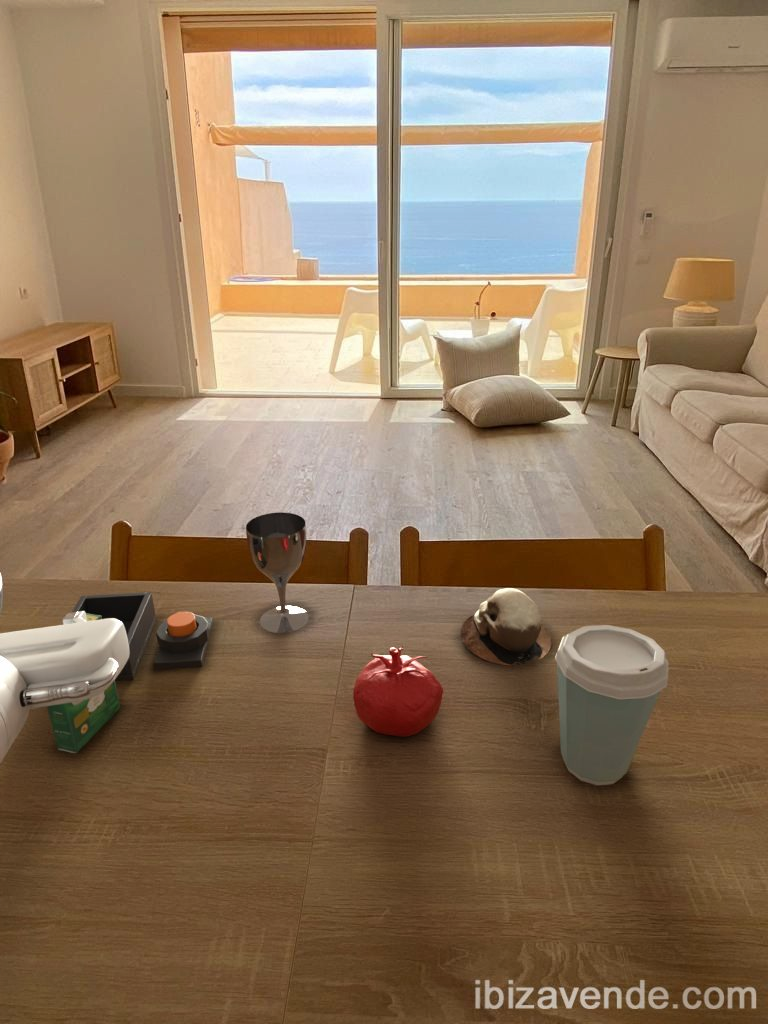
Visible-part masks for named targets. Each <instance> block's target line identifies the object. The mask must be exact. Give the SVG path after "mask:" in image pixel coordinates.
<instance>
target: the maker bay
mask: <svg viewBox="0 0 768 1024" xmlns="http://www.w3.org/2000/svg"><path fill="white" fill-rule="evenodd" d="M155 609H156V608H155V605H154V598H153V593H152V591H146V592H145V591H144V592H143V591H142V592H127V593H126V592H125V593H109V594H90V595H88V594H87V595H81V596H80V597H79V599H78V601H77V602H76V604H75V606H74V607H73V609H72V611H71V612H70V613H72V612H80V611H85V613H88V614H94V615H101V616H102V619H108V618H115V619H117V620H119V621H121V622H122V623H123V624H124V627H125V630H126V634H127V639H128V644H129V652H130V655H129V658H128V661H127V662H126V664H125V666H124V667H123V669H122V670H121V672H120V673H119V675H118V676H117V677H116V679H115V682H126V681H127V682H128V681H134V680H135V678H136V675H137V672H138V670H139V668H140V664H141V661H142V659H143V656H144V654H145V652H146V649H147V646H148V643H149V641H150V638H151V635H152V633H153V630H154V628H155V625H156V623H157V616H156V610H155Z"/></svg>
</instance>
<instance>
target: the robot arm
mask: <svg viewBox="0 0 768 1024" xmlns="http://www.w3.org/2000/svg"><path fill="white" fill-rule="evenodd" d="M3 590H4V589H3V578H2V574H1V573H0V616H1V614H2V609H3V598H4V597H3V596H4V595H3V594H4V592H3ZM71 612H72V611H71ZM71 612H67V613H66V614H65V616H64V617H63V618H62V624H58V625H52V626H51V625H49V626H44V627H37V628H29V629H22V630H15V631H8V632H2V633H1V632H0V764H1V763H2V762H3V760H4V758H5V757H6V755H7V754H8V752H9V750H10V749H11V747H12V746H13V744H14V742H15V741H16V739H17V737H18V736H19V734H20V732H21V731H22V729H23V728H24V726H25V724H26V722H27V720H28V716H29V713H30V709H31V710H32V709H38V708H43V707H47V706H51V705H58V704H65V703H71V702H78V701H82V700H86V699H90V698H93V697H95V696H97V695H99V694H101V693H102V692H103V691H105V690H106V689H107V688H108V687H109V686H110V685H111V684H112V683H113V681H114V680H115V679H116V677H117V676H118V675H119V673H120V672H121V670H122V669H123V667H124V666H125V664H126V662H127V661H128V658H129V655H130V652H129V644H128V639H127V634H126V630H125V627H124V624H123V623H122V622H121V621H119V620H117V619H115V618H108V619H101V620H94V621H87V617H86V613H85V611H80V612H72V613H71Z"/></svg>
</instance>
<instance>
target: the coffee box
mask: <svg viewBox="0 0 768 1024" xmlns="http://www.w3.org/2000/svg"><path fill="white" fill-rule="evenodd" d="M86 617H87V621H94V620H101V619H102V616H101V615H94V614H88V613H86ZM46 708H47V712H48V716H49V720H50V723H51V729H52V732H53V736H54V740H55V744H56V748H57V750H59V751H62V752H67V753H71V754H77V753H79V752H80V750H81V749H82V748H83V747H84V746H86V745H87V744H88V743H89V742H90V741H91V739H92V738H93V737H94V736H95V735H96V734H97V733H98V732H99V731H100V730H101V729H102V728H103V727H104V725H106V723H107V722H108V721H110V720H111V719H112V718H113V717H114V716H115V714H116V713H117V712H118V711H119V710H120V709H121V704H120V698H119V693H118V689H117V684H116V681H115V680H114V681H113V683H112V684H111V685H110V686H109V687H108V688H107V689H106V690H105V691H103V692H102V693H101V694H99V695H97V696H95V697H93V698H90V699H86V700H82V701H78V702H71V703H65V704H58V705H51V706H46Z"/></svg>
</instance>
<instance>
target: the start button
mask: <svg viewBox="0 0 768 1024" xmlns="http://www.w3.org/2000/svg"><path fill="white" fill-rule="evenodd" d="M194 615H195V614H194V613H193V612H191V611H178V612H176V613H173V614H171V615H170V616H169V617H168V618H167V619H166V620H167V625H168V631H169V634H170V635H171V636H174V637H181V636H186V635H189V634H192V633H193V632H195V631H196V628H197V626H196V620H195V616H194Z"/></svg>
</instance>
